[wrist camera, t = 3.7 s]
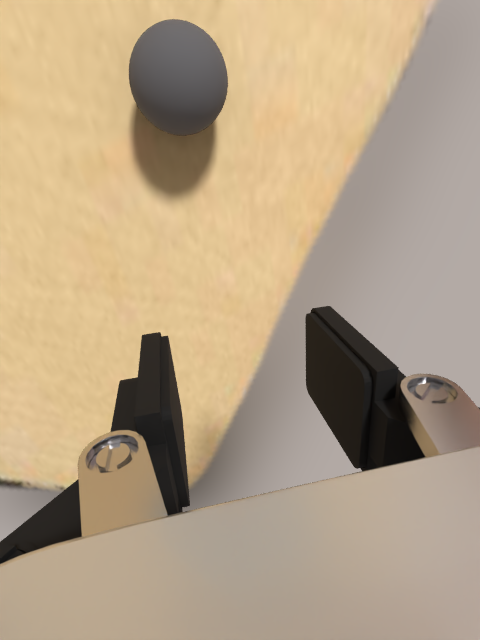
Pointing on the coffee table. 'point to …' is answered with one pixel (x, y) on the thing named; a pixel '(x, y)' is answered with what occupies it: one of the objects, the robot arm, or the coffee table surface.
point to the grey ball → (178, 77)
